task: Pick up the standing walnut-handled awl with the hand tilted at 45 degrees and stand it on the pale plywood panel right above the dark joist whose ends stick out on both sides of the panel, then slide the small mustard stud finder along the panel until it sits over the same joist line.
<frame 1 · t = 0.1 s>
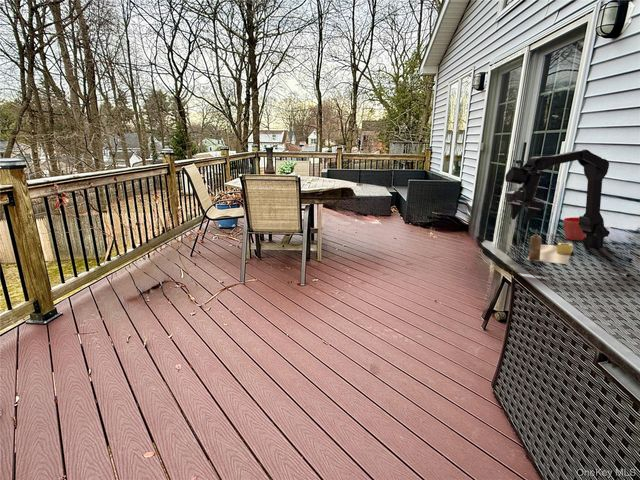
hand: (518, 221, 150), 15 cm above the countertop, tool pointing down, fingers open, 9 cm apart
panel: (550, 255, 149), on the countertop
awl: (534, 258, 144), point 1 cm above the countertop, touching panel
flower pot: (574, 238, 170), on the countertop
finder: (564, 251, 148), point 1 cm above the countertop, touching panel
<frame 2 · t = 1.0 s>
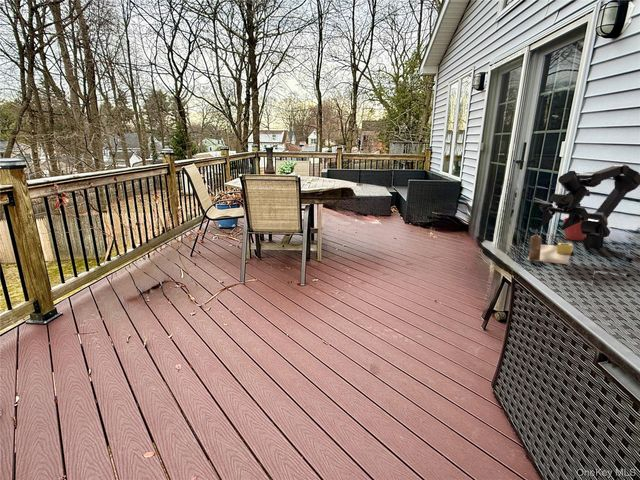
hand: (551, 227, 143), 13 cm above the countertop, tool tilted 45°, fingers open, 9 cm apart
nothing on the countertop moved.
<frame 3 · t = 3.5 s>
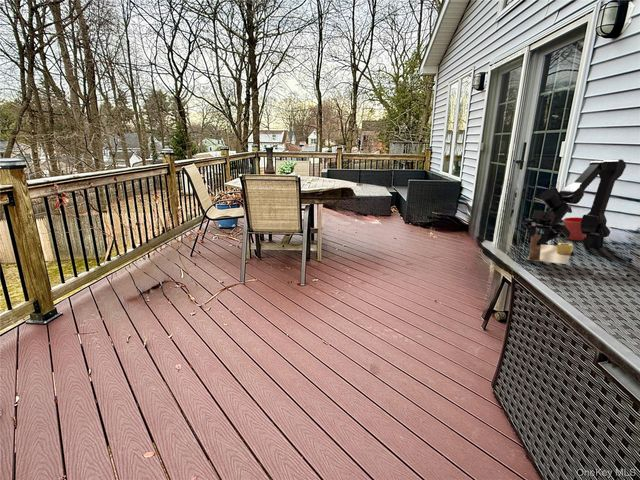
hand: (532, 244, 142), 8 cm above the countertop, tool tilted 45°, fingers closed on awl, 4 cm apart
awl: (534, 258, 144), point 1 cm above the countertop, touching gripper, panel
everything else where it was.
when the fingers open (8 cm above the countertop, at t = 6.4 s): awl stays where it is, resting on panel.
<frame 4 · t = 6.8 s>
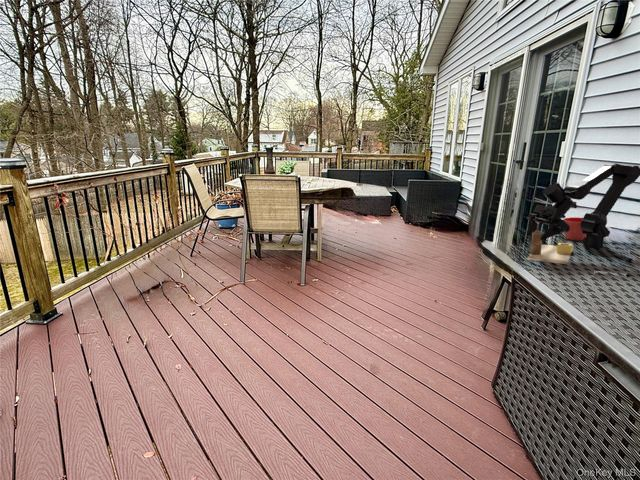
hand: (533, 237, 147), 9 cm above the countertop, tool tilted 45°, fingers open, 8 cm apart
awl: (535, 253, 149), point 1 cm above the countertop, touching panel
everything else where it was.
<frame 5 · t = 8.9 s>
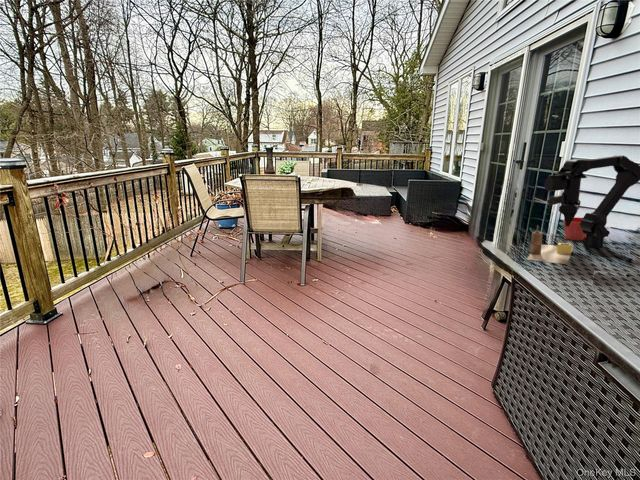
hand: (568, 224, 150), 12 cm above the countertop, tool pointing down, fingers open, 7 cm apart
nothing on the countertop moved.
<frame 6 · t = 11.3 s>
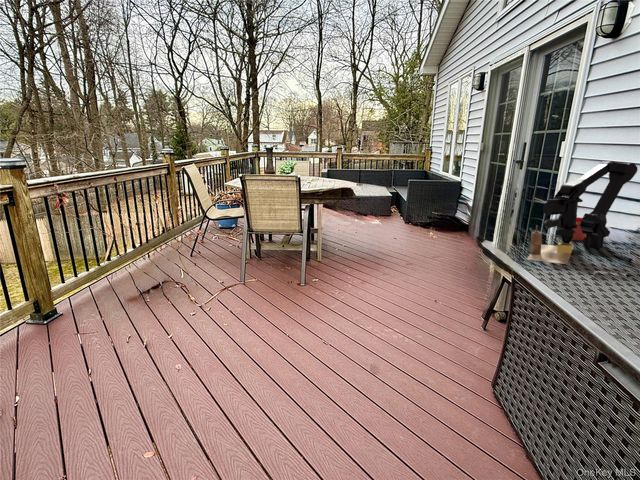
hand: (565, 247, 151), 2 cm above the countertop, tool pointing down, fingers closed
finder: (564, 251, 148), point 1 cm above the countertop, touching gripper, panel
everything else where it was.
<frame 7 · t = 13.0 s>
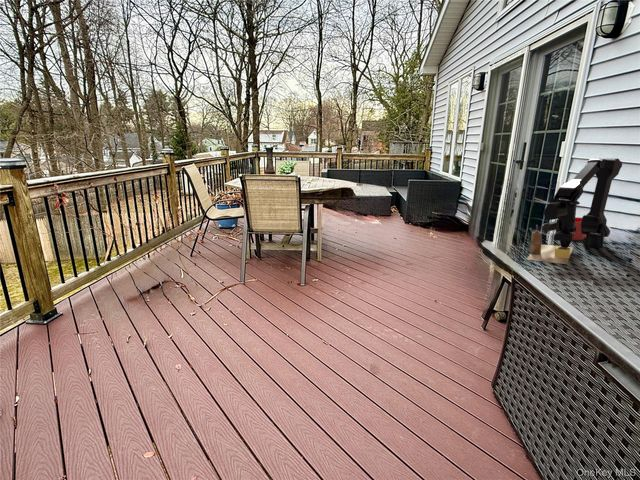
hand: (563, 251, 146), 2 cm above the countertop, tool pointing down, fingers closed
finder: (562, 256, 143), point 1 cm above the countertop, touching gripper, panel
everything else where it was.
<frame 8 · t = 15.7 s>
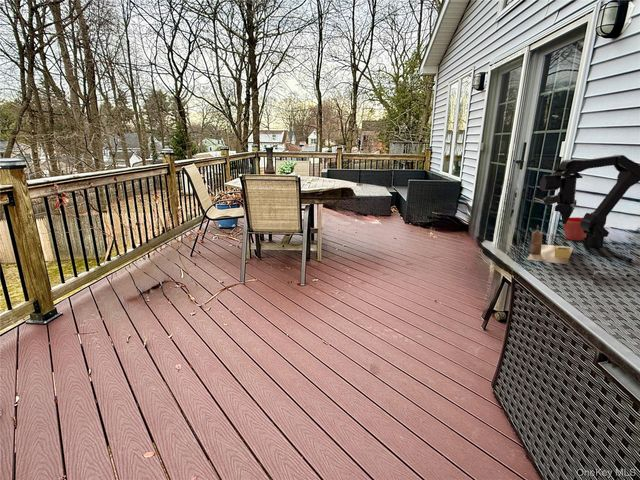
hand: (564, 223, 152), 12 cm above the countertop, tool pointing down, fingers closed
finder: (562, 256, 143), point 1 cm above the countertop, touching panel
everything else where it was.
at the end: awl inside the target area (0.8 cm from its centre), point 1.1 cm above the countertop; awl tilted 2°; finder inside the target area (0.5 cm from its centre), point 1.0 cm above the countertop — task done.
